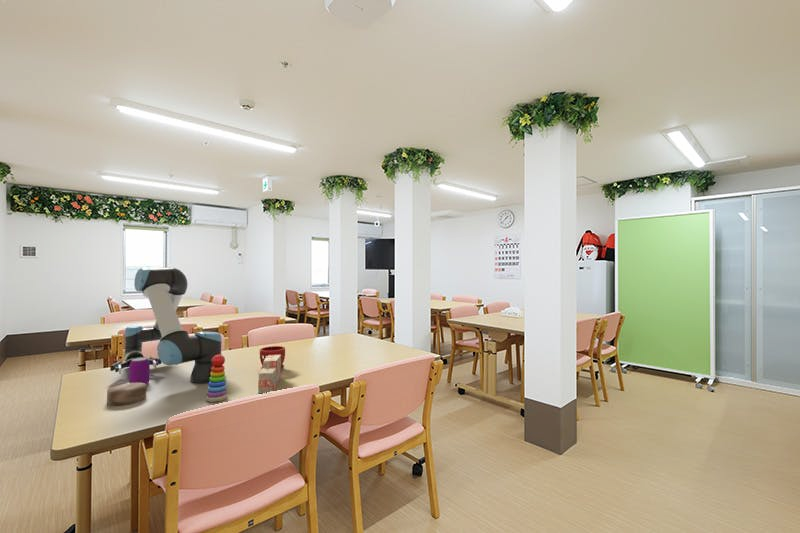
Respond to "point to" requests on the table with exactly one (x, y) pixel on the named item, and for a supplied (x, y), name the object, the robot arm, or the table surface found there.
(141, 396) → the walnut pedestal
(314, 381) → the table surface
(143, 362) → the beverage can
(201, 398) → the table surface
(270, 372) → the stack of blocks
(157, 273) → the robot arm
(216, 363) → the stacking toy
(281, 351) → the plant pot
